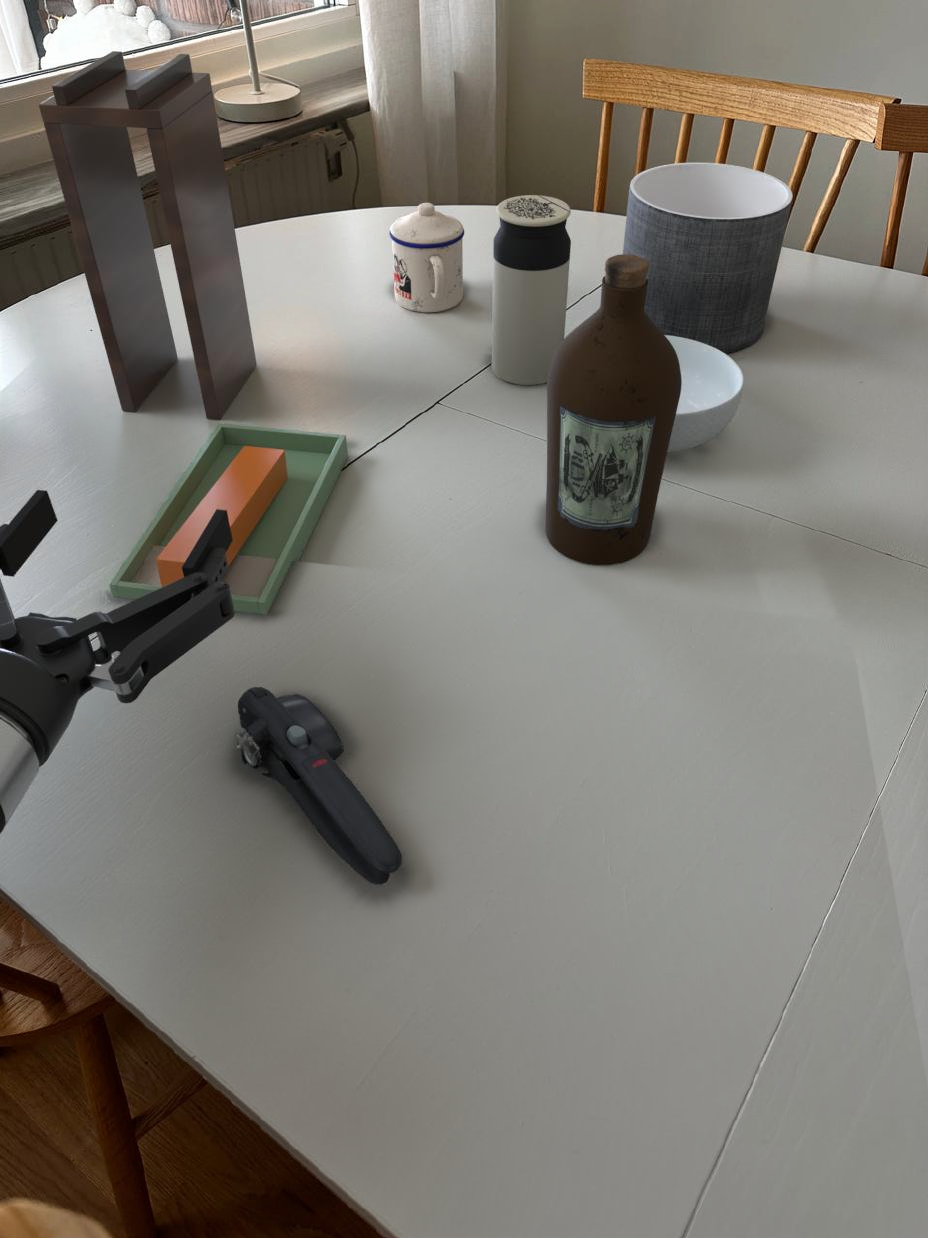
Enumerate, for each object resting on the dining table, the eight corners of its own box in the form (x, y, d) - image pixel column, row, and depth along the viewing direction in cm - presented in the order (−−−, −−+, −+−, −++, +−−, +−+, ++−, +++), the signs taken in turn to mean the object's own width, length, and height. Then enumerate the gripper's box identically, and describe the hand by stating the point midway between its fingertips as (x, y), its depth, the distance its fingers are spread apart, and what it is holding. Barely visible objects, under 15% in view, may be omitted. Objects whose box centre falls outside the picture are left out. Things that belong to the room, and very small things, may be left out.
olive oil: (548, 492, 93) (566, 228, 76) (660, 507, 91) (704, 240, 74) (528, 562, 85) (543, 285, 68) (650, 579, 84) (697, 300, 67)
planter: (760, 296, 124) (787, 166, 114) (767, 363, 112) (798, 223, 101) (619, 286, 127) (633, 158, 116) (610, 350, 114) (625, 213, 103)
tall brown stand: (121, 411, 104) (32, 84, 83) (166, 357, 113) (95, 49, 92) (220, 420, 103) (154, 90, 82) (257, 365, 112) (206, 54, 90)
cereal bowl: (698, 385, 108) (709, 325, 103) (757, 469, 96) (772, 405, 91) (549, 399, 106) (552, 338, 101) (589, 486, 94) (596, 422, 89)
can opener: (220, 745, 70) (206, 691, 66) (306, 704, 73) (297, 650, 69) (343, 929, 60) (334, 878, 56) (438, 872, 62) (436, 820, 59)
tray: (116, 607, 81) (108, 584, 80) (222, 444, 100) (218, 422, 98) (268, 625, 80) (264, 602, 78) (348, 456, 98) (346, 434, 96)
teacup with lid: (387, 287, 127) (381, 194, 119) (455, 280, 128) (454, 188, 120) (405, 328, 118) (400, 232, 110) (478, 320, 120) (478, 224, 112)
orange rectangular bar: (162, 590, 79) (155, 559, 77) (248, 473, 95) (244, 445, 93) (209, 595, 78) (203, 564, 77) (287, 477, 94) (284, 449, 92)
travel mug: (510, 393, 107) (515, 227, 94) (479, 361, 112) (481, 200, 100) (574, 378, 109) (587, 214, 97) (541, 347, 114) (550, 188, 102)
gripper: (-188, 750, 60) (-8, 537, 75) (201, 808, 56) (307, 573, 72) (-249, 664, 54) (-42, 454, 70) (175, 722, 51) (295, 489, 67)
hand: (135, 514), depth 71 cm, fingers open, 13 cm apart
